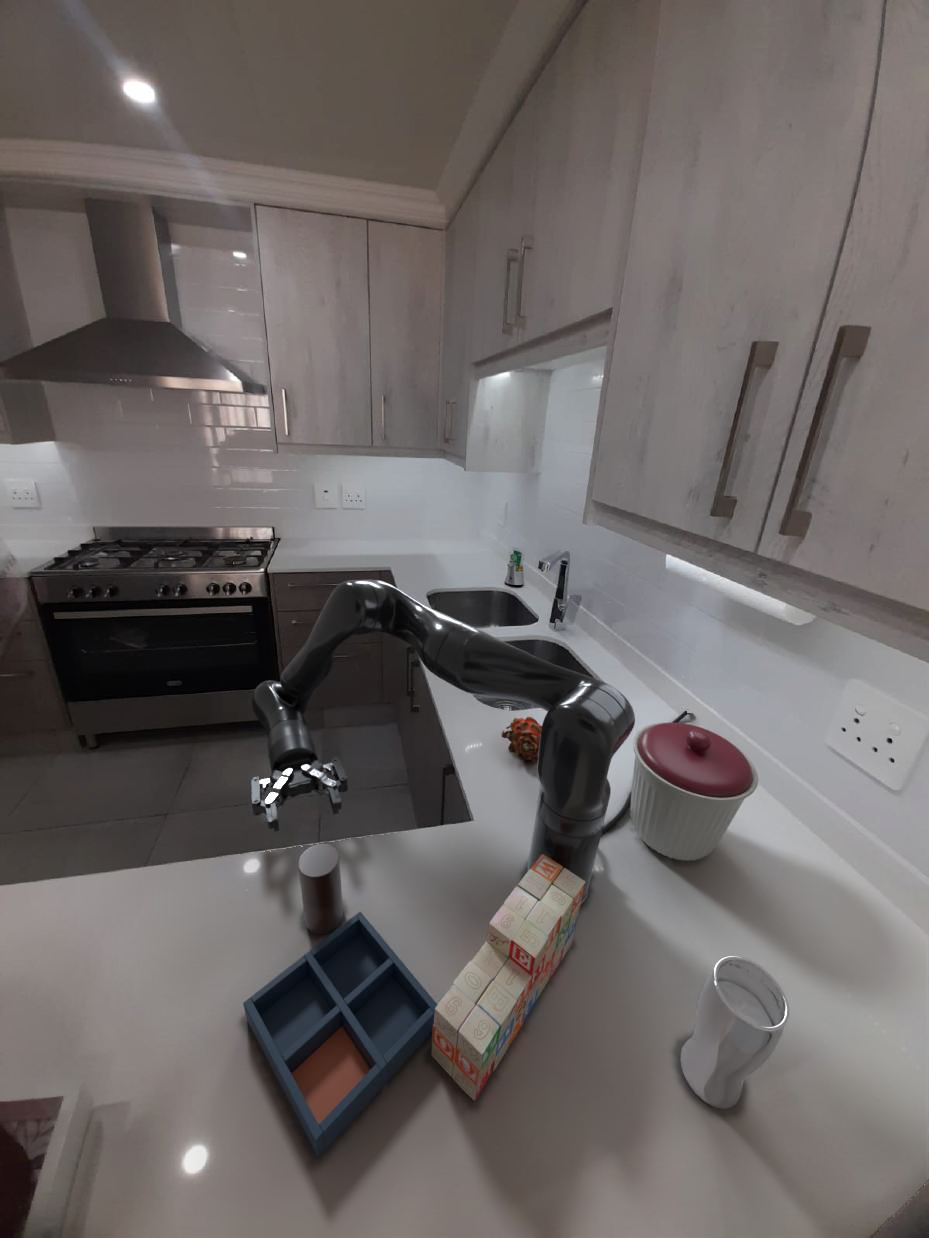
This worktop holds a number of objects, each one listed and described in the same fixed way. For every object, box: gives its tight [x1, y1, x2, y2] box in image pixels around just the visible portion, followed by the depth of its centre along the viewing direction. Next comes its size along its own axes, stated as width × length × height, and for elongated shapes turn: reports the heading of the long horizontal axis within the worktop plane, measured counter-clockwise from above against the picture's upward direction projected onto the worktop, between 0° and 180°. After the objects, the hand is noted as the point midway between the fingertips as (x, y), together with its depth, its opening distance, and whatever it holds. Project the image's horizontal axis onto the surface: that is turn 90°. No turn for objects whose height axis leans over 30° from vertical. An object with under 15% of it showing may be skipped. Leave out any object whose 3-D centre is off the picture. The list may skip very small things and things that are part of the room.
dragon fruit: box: [501, 716, 542, 763], centre depth 99 cm, size 8×8×12 cm
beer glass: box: [679, 955, 790, 1110], centre depth 50 cm, size 7×7×15 cm
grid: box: [242, 911, 438, 1159], centre depth 55 cm, size 15×15×4 cm
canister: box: [630, 721, 759, 862], centre depth 79 cm, size 18×18×21 cm
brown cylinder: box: [297, 843, 344, 935], centre depth 64 cm, size 5×5×11 cm
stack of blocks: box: [431, 854, 585, 1102], centre depth 57 cm, size 21×6×12 cm, turn 141°
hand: (307, 818), depth 72 cm, fingers open, 8 cm apart
